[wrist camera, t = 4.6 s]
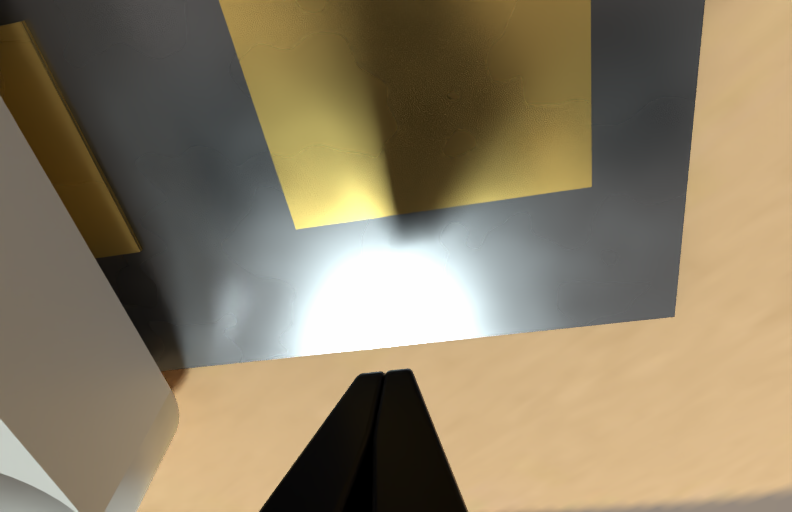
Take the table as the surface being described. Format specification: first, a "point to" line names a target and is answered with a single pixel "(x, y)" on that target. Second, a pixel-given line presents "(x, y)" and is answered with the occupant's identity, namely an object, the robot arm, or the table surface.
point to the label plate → (363, 163)
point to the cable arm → (68, 360)
